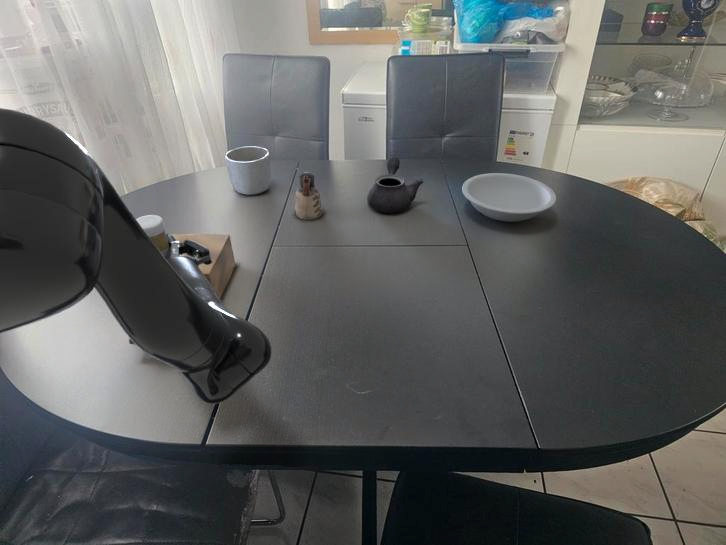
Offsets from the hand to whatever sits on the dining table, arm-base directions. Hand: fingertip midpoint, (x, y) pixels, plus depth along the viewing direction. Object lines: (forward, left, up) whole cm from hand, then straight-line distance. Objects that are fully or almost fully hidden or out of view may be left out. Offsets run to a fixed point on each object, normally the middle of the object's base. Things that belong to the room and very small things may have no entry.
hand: (151, 243), depth 76 cm
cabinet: (0, +12, -18) cm, 21 cm away
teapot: (+43, +53, -18) cm, 70 cm away
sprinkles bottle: (+2, -2, -8) cm, 8 cm away
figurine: (+20, +44, -18) cm, 51 cm away
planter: (+1, +59, -18) cm, 61 cm away
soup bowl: (+73, +46, -18) cm, 88 cm away
